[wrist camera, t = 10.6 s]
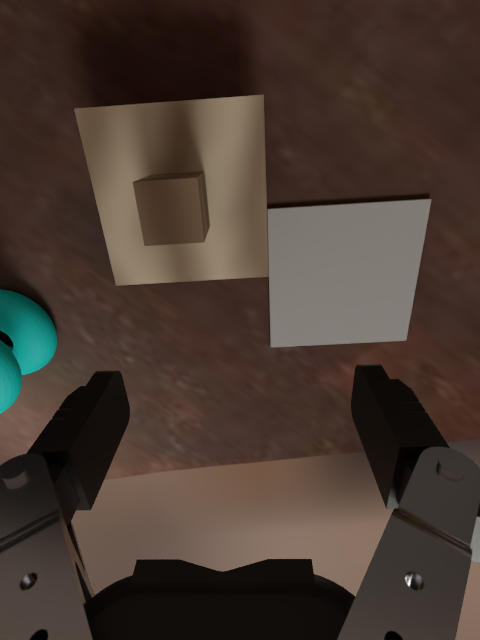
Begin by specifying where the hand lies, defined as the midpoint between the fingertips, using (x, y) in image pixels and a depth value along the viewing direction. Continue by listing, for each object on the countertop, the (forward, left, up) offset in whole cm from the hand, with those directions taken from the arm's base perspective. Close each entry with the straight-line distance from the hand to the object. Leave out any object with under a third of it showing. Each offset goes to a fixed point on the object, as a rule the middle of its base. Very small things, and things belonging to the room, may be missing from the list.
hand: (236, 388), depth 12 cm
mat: (-10, +6, -24) cm, 27 cm away
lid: (+4, -4, -19) cm, 20 cm away
